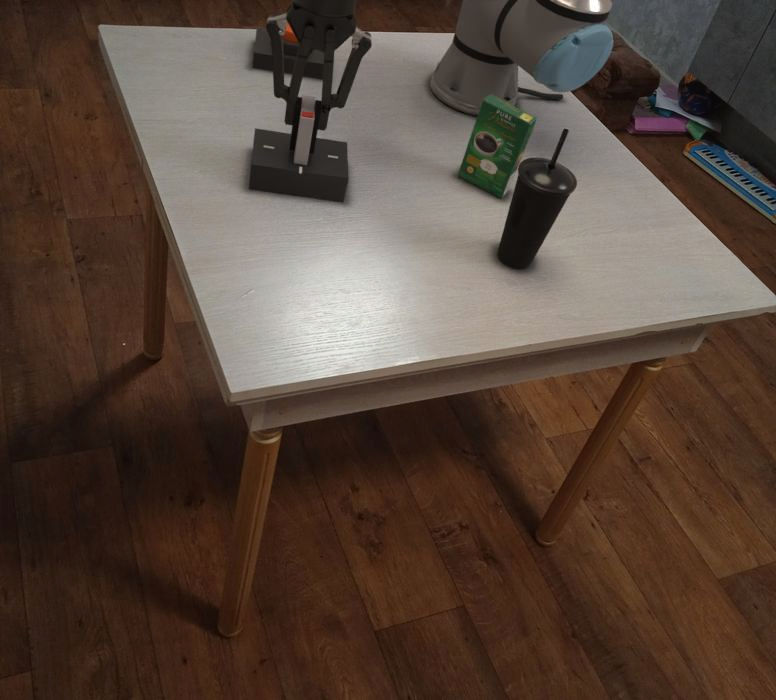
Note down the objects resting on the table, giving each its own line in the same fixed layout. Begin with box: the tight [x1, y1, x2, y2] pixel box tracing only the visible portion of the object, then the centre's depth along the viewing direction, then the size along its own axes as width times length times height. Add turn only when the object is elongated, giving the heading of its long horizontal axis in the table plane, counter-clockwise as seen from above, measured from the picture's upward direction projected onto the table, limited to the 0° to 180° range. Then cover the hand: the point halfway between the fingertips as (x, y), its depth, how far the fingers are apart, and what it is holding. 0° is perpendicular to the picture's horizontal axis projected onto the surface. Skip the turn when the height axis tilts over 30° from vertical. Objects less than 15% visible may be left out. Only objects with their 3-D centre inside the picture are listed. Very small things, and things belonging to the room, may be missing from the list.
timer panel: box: [248, 127, 350, 203], centre depth 114 cm, size 13×10×4 cm
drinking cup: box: [496, 128, 578, 270], centre depth 106 cm, size 8×8×20 cm
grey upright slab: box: [294, 94, 316, 165], centre depth 111 cm, size 6×2×7 cm, turn 2°
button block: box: [251, 27, 324, 80], centre depth 138 cm, size 12×9×4 cm
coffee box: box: [457, 94, 538, 199], centre depth 120 cm, size 8×3×13 cm, turn 58°
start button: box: [283, 24, 298, 43], centre depth 136 cm, size 4×4×2 cm
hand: (301, 146), depth 112 cm, fingers closed on grey upright slab, 2 cm apart
